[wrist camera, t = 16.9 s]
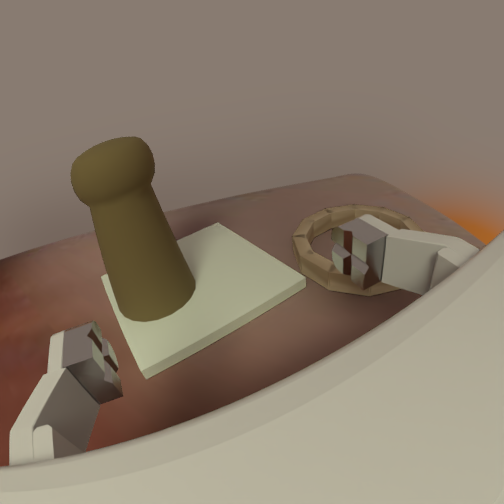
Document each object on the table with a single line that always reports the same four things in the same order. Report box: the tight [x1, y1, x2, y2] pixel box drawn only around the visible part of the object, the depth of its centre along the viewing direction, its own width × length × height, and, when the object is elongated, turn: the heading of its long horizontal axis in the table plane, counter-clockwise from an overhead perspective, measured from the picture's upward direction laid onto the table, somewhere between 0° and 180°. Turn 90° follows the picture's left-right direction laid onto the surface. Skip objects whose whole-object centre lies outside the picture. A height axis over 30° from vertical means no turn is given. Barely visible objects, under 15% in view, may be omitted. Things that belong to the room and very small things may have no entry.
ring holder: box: [292, 204, 424, 296], centre depth 23 cm, size 10×10×2 cm
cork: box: [71, 137, 195, 322], centre depth 18 cm, size 6×6×11 cm
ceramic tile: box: [101, 223, 306, 379], centre depth 23 cm, size 12×12×1 cm
